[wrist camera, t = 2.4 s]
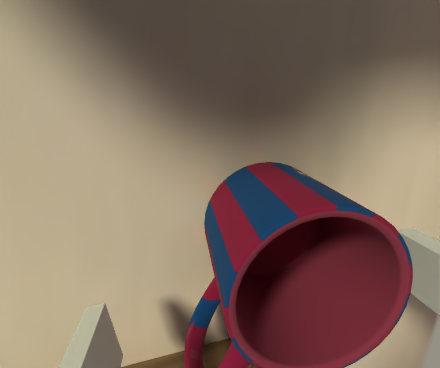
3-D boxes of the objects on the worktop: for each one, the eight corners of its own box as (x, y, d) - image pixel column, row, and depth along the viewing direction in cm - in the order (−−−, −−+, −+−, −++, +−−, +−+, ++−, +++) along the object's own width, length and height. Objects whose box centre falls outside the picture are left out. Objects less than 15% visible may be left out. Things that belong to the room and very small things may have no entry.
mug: (341, 220, 17) (445, 293, 10) (215, 327, 18) (239, 458, 11) (272, 135, 15) (347, 161, 8) (134, 261, 16) (104, 373, 9)
